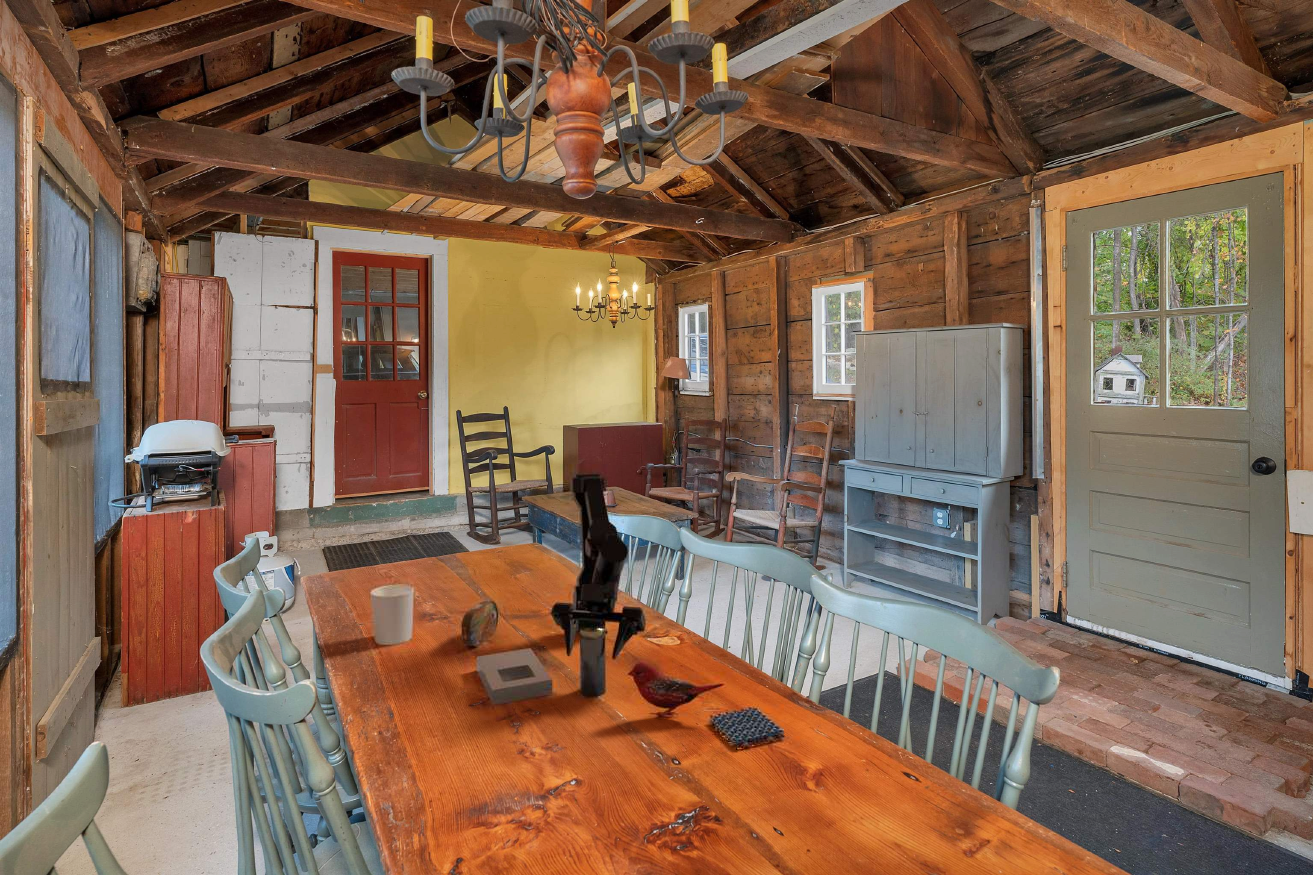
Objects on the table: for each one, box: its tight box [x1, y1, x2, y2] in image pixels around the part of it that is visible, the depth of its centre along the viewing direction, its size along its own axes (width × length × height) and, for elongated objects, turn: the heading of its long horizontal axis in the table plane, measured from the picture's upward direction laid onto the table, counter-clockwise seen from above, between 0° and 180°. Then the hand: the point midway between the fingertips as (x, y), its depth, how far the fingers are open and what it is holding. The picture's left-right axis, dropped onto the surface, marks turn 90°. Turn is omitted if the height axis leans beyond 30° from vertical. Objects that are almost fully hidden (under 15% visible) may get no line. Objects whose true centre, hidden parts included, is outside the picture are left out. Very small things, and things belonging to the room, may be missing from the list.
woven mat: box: [707, 706, 787, 749], centre depth 119 cm, size 10×11×2 cm
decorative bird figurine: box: [627, 662, 725, 717], centre depth 124 cm, size 3×18×10 cm, turn 88°
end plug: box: [579, 623, 607, 698], centre depth 135 cm, size 5×5×13 cm
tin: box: [460, 600, 499, 647], centre depth 163 cm, size 15×3×8 cm, turn 168°
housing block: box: [476, 647, 554, 706], centre depth 139 cm, size 12×18×3 cm, turn 24°
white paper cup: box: [369, 584, 415, 646], centre depth 163 cm, size 10×10×12 cm
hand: (590, 656), depth 133 cm, fingers open, 9 cm apart
